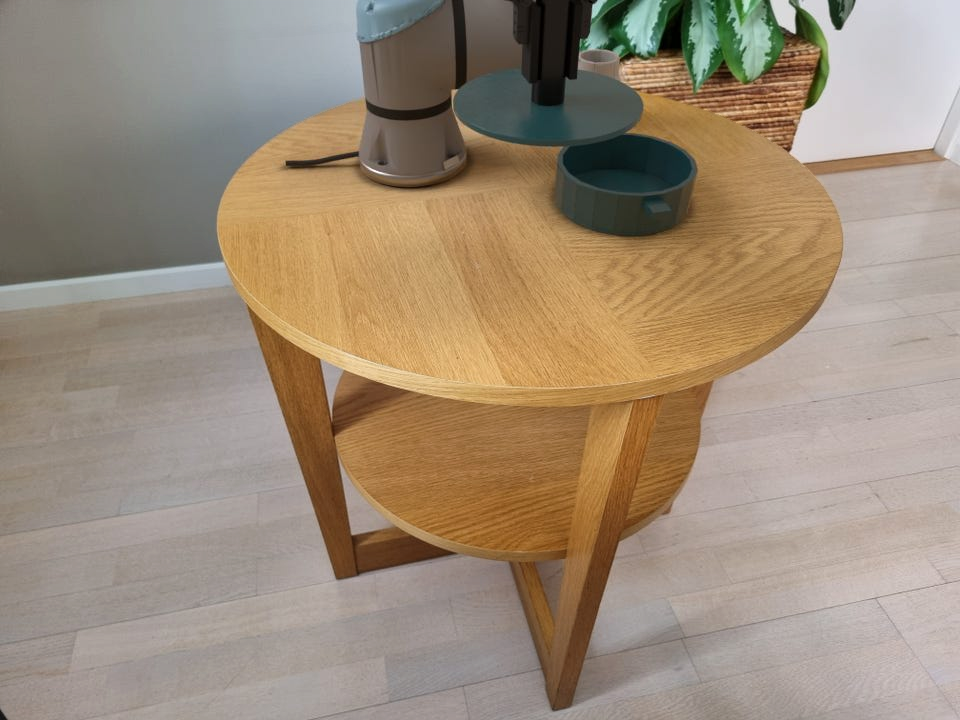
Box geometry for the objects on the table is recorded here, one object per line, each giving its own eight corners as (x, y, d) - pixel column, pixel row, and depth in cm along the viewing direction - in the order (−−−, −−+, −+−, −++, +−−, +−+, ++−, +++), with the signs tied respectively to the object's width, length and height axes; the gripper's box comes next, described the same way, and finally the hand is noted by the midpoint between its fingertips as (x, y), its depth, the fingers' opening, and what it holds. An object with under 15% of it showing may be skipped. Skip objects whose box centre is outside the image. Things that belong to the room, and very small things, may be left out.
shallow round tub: (586, 255, 82) (591, 214, 79) (533, 168, 99) (535, 130, 95) (722, 237, 85) (733, 197, 81) (648, 155, 102) (654, 118, 98)
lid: (477, 163, 60) (476, 25, 53) (436, 86, 74) (431, -33, 66) (674, 141, 63) (699, 7, 56) (601, 71, 77) (613, -44, 69)
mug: (614, 132, 107) (624, 51, 99) (538, 125, 110) (542, 45, 101) (618, 112, 113) (628, 34, 105) (546, 106, 115) (550, 29, 107)
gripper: (471, -251, 47) (474, 99, 62) (695, -253, 49) (644, 82, 65) (448, -252, 52) (456, 70, 68) (651, -254, 55) (614, 56, 70)
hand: (548, 75), depth 66 cm, fingers closed on lid, 3 cm apart
